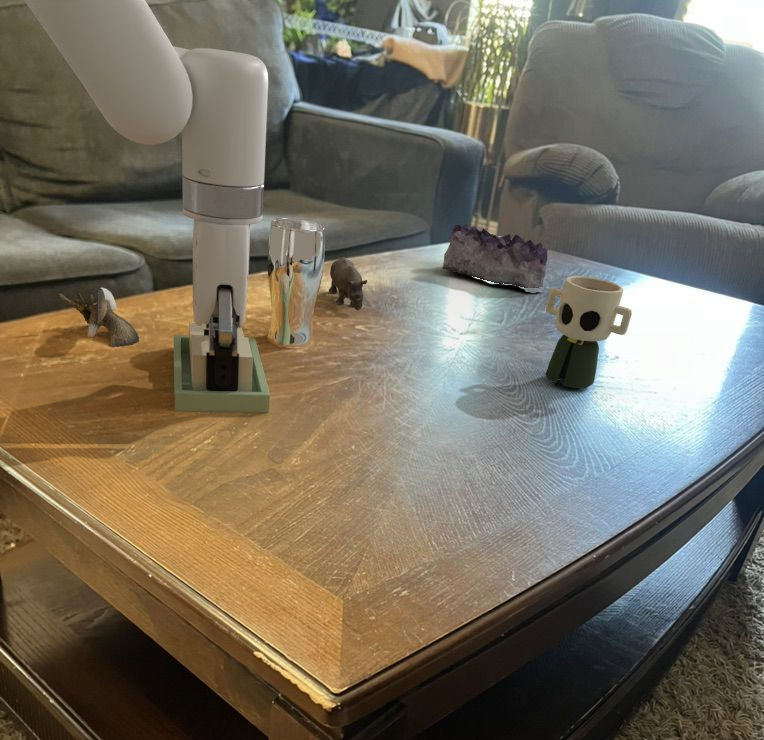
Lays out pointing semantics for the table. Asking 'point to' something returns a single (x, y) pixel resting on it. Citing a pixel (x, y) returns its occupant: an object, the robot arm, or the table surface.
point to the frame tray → (217, 399)
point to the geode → (495, 257)
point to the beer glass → (294, 279)
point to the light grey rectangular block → (199, 363)
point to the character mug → (583, 327)
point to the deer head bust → (104, 318)
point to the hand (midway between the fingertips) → (220, 376)
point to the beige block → (199, 330)
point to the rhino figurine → (347, 282)
